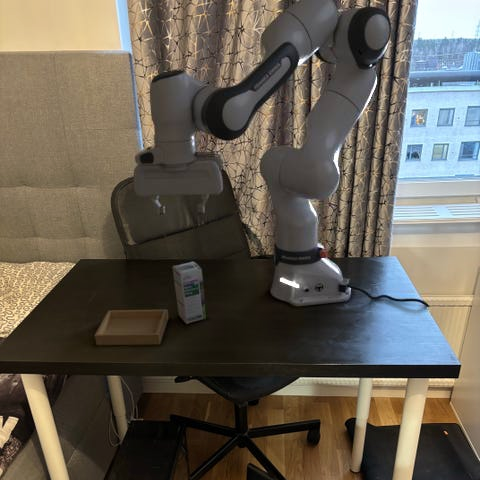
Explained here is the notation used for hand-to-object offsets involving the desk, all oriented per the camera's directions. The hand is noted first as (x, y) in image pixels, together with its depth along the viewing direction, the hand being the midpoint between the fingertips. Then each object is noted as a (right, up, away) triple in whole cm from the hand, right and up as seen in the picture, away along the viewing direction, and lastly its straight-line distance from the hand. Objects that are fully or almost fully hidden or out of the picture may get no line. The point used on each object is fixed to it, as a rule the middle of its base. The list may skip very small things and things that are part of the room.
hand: (181, 213), depth 117 cm
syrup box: (+1, -25, +14) cm, 28 cm away
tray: (-13, -28, +9) cm, 32 cm away
